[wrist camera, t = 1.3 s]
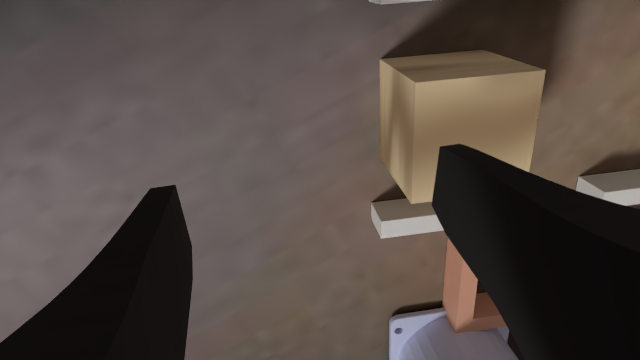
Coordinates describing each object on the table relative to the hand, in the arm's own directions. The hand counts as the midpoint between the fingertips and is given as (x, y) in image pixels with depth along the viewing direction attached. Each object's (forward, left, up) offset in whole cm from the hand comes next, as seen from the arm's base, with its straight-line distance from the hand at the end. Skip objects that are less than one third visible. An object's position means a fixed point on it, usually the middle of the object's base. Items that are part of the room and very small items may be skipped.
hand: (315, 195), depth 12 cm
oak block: (-1, -7, -10) cm, 12 cm away
